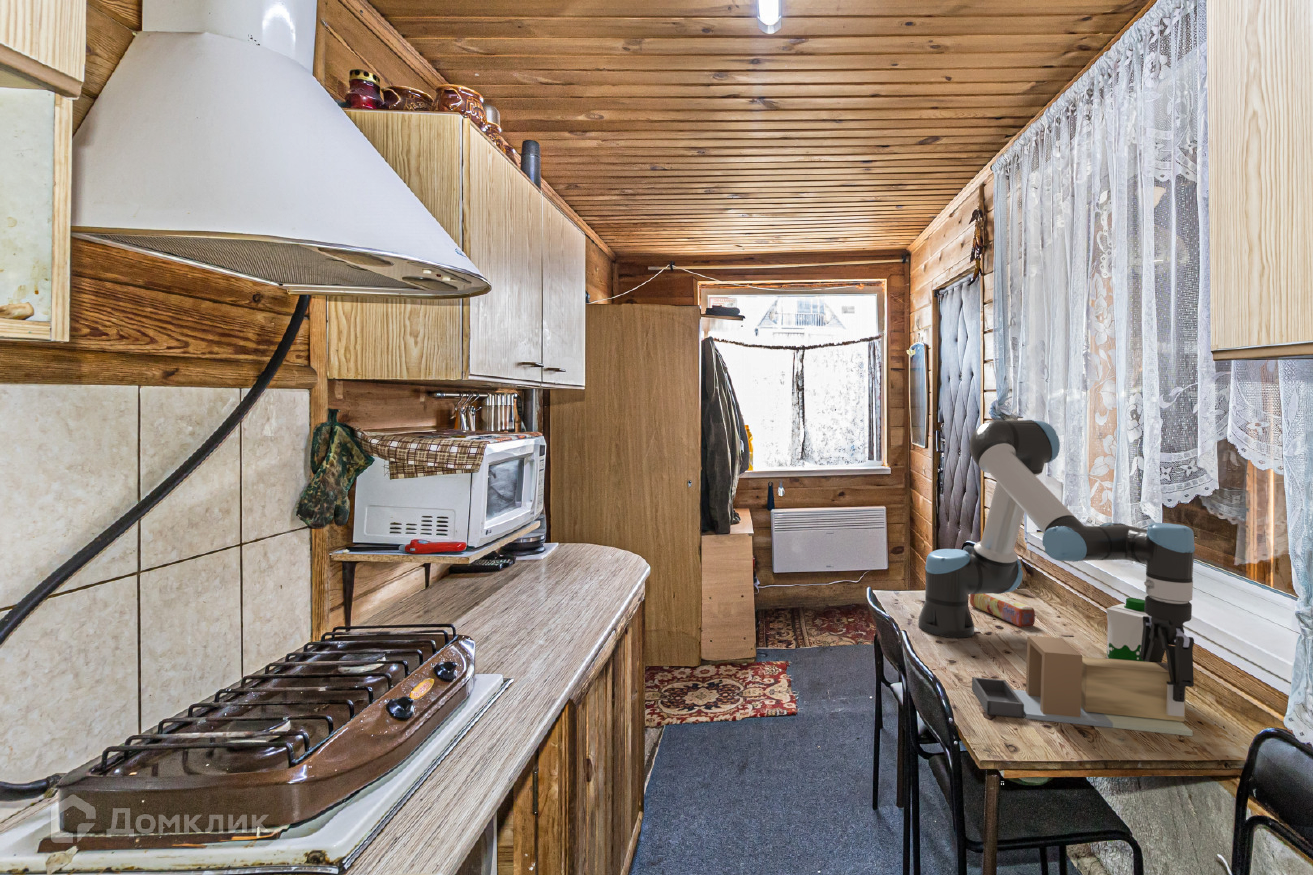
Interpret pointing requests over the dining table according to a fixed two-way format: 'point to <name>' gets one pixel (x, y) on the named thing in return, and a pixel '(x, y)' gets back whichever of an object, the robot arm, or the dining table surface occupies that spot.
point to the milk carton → (1125, 630)
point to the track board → (1072, 691)
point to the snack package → (1004, 608)
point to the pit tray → (997, 697)
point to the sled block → (1126, 688)
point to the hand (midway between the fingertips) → (1164, 705)
